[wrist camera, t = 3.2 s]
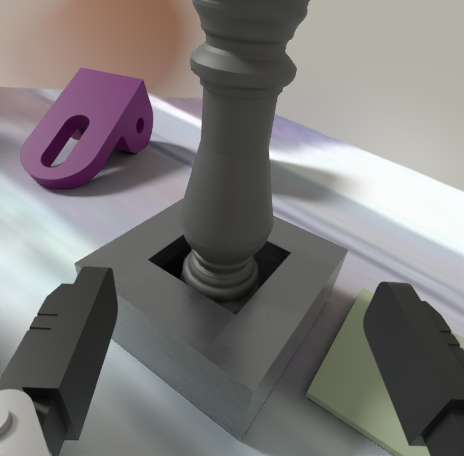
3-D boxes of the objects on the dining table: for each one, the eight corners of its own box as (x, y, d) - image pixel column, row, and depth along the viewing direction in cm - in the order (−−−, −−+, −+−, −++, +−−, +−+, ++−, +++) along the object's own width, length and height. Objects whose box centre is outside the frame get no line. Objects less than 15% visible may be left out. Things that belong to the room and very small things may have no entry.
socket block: (239, 441, 20) (253, 391, 17) (88, 320, 26) (74, 263, 23) (327, 301, 30) (348, 249, 26) (203, 234, 36) (206, 184, 32)
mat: (507, 532, 18) (514, 529, 18) (305, 395, 23) (307, 391, 23) (510, 367, 26) (514, 363, 26) (360, 292, 31) (362, 287, 31)
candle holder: (168, 333, 26) (155, -144, 11) (190, 276, 31) (203, -107, 16) (248, 350, 25) (353, -125, 10) (257, 290, 30) (338, -93, 15)
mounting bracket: (104, 224, 45) (157, 126, 53) (76, 187, 38) (143, 79, 45) (42, 206, 47) (103, 114, 54) (3, 168, 39) (81, 67, 47)
